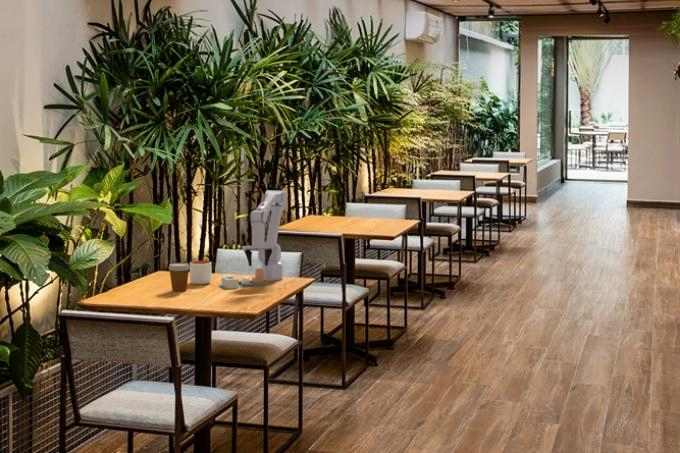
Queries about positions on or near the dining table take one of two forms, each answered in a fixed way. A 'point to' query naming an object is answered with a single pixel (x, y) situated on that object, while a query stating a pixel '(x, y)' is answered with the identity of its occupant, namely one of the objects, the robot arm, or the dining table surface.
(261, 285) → the pitch board
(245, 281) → the ball
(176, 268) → the disposable coffee cup
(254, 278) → the figure
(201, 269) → the cup
